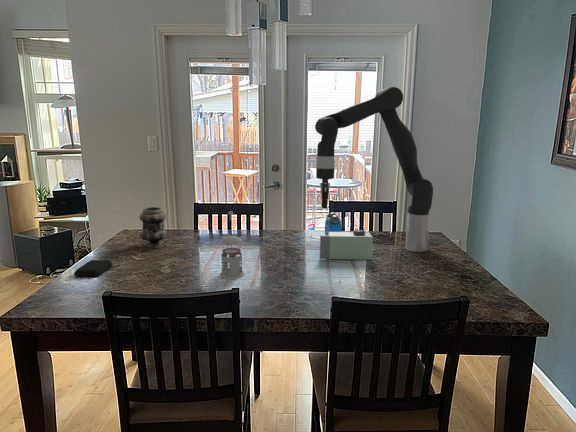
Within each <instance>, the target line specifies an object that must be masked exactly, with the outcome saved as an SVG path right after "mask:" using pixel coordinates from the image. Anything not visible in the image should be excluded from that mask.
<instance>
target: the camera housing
mask: <svg viewBox="0 0 576 432" xmlns="http://www.w3.org/2000/svg"><path fill="white" fill-rule="evenodd" d="M329 236H372V234H371V233H370V232H368V231H365V230H362V229H355V230H353V231H342V232H329ZM357 260H358V261H359V260H360V261H361V260H365V261H367V259H357Z"/></svg>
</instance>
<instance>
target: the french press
mask: <svg viewBox="0 0 576 432" xmlns="http://www.w3.org/2000/svg"><path fill="white" fill-rule="evenodd" d="M227 215H229V217H230V220H232V216H233V215H234V212H233V210H230V211H228V212H227ZM242 242H243V239H242V238H240V237H239V236H236V235H232V233H230V235H228V236H225V237H222V238H221V239H220V243H222V244H223V245H226V246H227V247H226V248H225V247H224V248H223V249H222V250H221V252H222V253H221V255H220V258H221V272H220V273H219V275H220V276H219V277H220V278H221V277H222V279H224V278H225V280H236V279H237V280H238V279H241V278H242V277H245V275H246V274H245V272H244V270H243V254H242V252H241V251H242V250H241V249H240V248H238V247H233V245H237V244H238V245H239V244H240V243H242ZM229 246H230V247H229Z"/></svg>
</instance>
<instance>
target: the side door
mask: <svg viewBox="0 0 576 432" xmlns="http://www.w3.org/2000/svg"><path fill="white" fill-rule="evenodd" d="M319 237H320V238H319V239H320V240H319V241H320V242H319V260H320V259H321V260H322V259H324V260H358V259H367V260H373V245H374V244H373V241H374V240H373V239H374V237H373V235H371V236H325V235H320V236H319ZM367 260H366V261H367Z"/></svg>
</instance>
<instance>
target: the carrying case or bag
mask: <svg viewBox="0 0 576 432" xmlns="http://www.w3.org/2000/svg"><path fill="white" fill-rule="evenodd" d="M113 266H114V263H113V262H112V261H111V260H109V259H107V260H106V259H105V260H104V259H91V260H89V261H88V262H86V263H85V264H83V265H81V266H80V267H78V268H77V269H76V270H75V271H74V272H73V275H74V276H75V277H76V278H92V279H93V278H97V277H100V275H102V274H103V273H105V272H106V271H108V270H109V269H110V268H113Z"/></svg>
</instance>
